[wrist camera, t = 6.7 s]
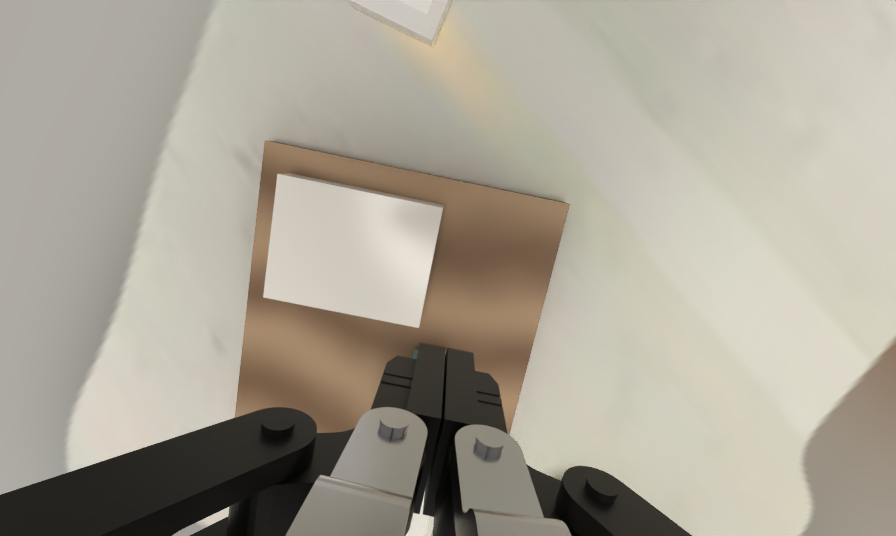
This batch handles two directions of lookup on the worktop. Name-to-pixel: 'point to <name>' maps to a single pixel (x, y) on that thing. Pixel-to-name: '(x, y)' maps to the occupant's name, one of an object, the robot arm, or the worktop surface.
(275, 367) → the board
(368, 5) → the white light switch
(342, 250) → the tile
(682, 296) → the worktop surface
